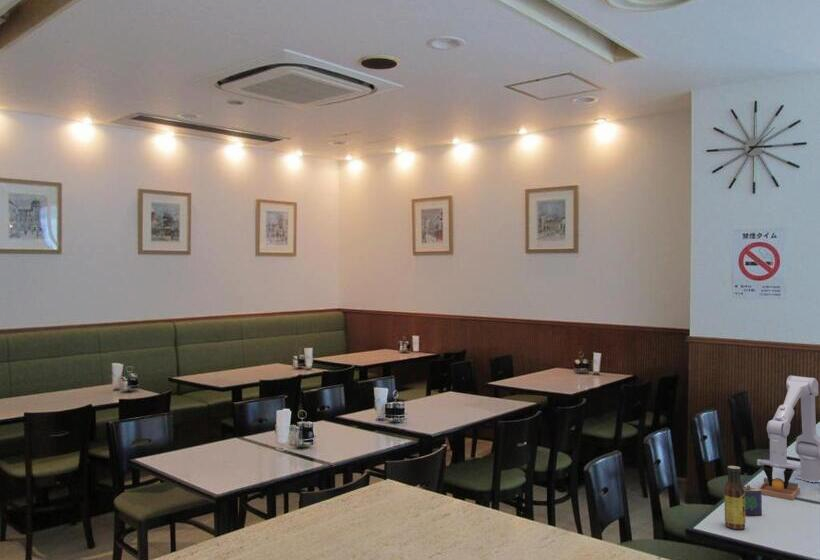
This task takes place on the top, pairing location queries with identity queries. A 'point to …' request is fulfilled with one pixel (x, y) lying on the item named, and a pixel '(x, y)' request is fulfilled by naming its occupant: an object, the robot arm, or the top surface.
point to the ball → (778, 484)
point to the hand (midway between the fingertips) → (778, 486)
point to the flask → (753, 501)
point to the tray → (784, 494)
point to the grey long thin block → (788, 483)
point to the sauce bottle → (734, 499)
